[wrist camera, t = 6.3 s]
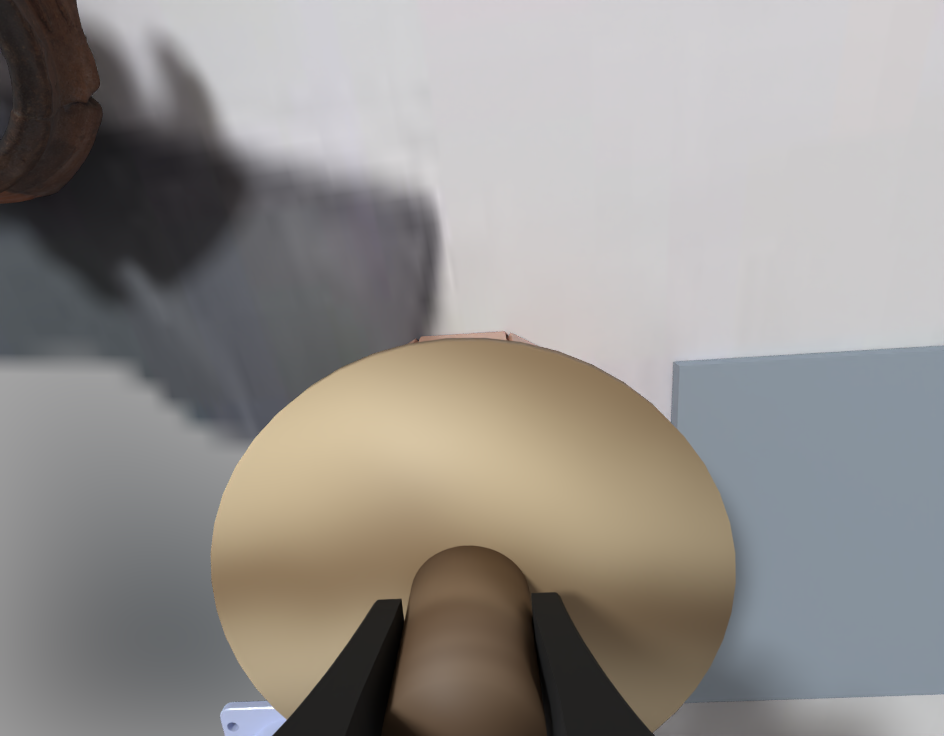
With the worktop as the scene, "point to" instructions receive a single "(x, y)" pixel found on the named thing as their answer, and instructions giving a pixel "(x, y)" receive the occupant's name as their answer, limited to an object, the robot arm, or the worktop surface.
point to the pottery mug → (46, 97)
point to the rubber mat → (825, 519)
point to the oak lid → (473, 535)
